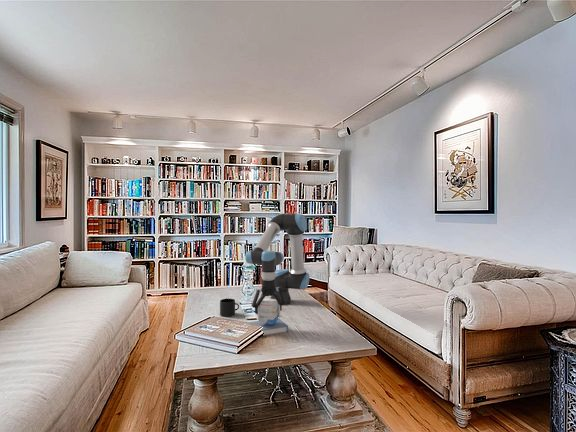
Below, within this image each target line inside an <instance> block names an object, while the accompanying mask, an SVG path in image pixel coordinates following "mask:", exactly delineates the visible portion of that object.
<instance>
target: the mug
mask: <svg viewBox="0 0 576 432" xmlns="http://www.w3.org/2000/svg"><path fill="white" fill-rule="evenodd" d="M236 306H237V308H236ZM239 308H240V305H239V303H238V302H236V300H235V298H223V299H220V301H219V316H221V317H224V318H228V317H234V316H235V315H236V311H237V310H239Z"/></svg>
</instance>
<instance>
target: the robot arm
mask: <svg viewBox="0 0 576 432" xmlns="http://www.w3.org/2000/svg"><path fill="white" fill-rule="evenodd" d="M307 226H308V225H307V219H306V216H305V215H304V214H303V213H280V214H278V215H275V216H274V217H272V218H271V219H270V220H269V221H268V222H267V225H266V229H265V231H264V232H263V233H262V235H261V237H260V238H259V239H258V242H257V243H256V245H255V246H254V248H253V249H252V250H248V251H246V253H245V256H244V257H245V258H244V259H245V262H246V263H247V264H250V265H261V288H256V289H255V293H254V296H253V300H252V303H251V307H252V308H254V314H255V315H256V321H259V305H260V304H261V302H262V300H263V299H264V298H266V297H269V299H276V300H277V301H278V318H281V311H283V309H282V308H283V307H282V306H283V305H288V304H291V303H292V298H291V295H290V289H291V290H292V289H293V290H299V291H301V290H302V291H303V290H307V288H308V286H309V283H310V277H311V276H310V273H309V272H307V269H306V268H305V261H304V246H303V235H304V234H305V232H306V230H307ZM281 231H285V232H287V233H286V234H287V236H289V247H290V260H291V261H290V262H291V269H287V268H285V269H284V268H283V269H276V267H277V266H279V265H281V264H282V263H283V262H284V259H285V255H284V254H283V253H282V252H280V251H274V250H269V248H270V246H271V244H272V243H273V241H274V239H275V238H276V236H277V234H279V233H280V232H281ZM259 296H260V297H259Z"/></svg>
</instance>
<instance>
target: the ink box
mask: <svg viewBox="0 0 576 432" xmlns="http://www.w3.org/2000/svg"><path fill="white" fill-rule="evenodd" d="M258 308H259V320H258V321H259V323H265V324H274V323H275V322H276V321H277V320H278V318H279V317H278V301H277V300H276V299H270V298H266V297H265V298H264V299H263V300H262V302H261V304H260V305H259V307H258Z"/></svg>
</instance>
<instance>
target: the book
mask: <svg viewBox="0 0 576 432" xmlns="http://www.w3.org/2000/svg"><path fill="white" fill-rule="evenodd" d="M249 323H250V324H255V325H259V326H263V328H262V329H261V331H263V333H264V334H263V336H262V337H264V336H270V335H277V334H282V333H287V332H289V325H288V324H287V323H286V322H284V321H283V320H282V319H281V318H280V317H278V320H277V321H276V322H275V323H274V324H265V323H259V320H256V321H251V322H249ZM250 324H249V325H250Z"/></svg>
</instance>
